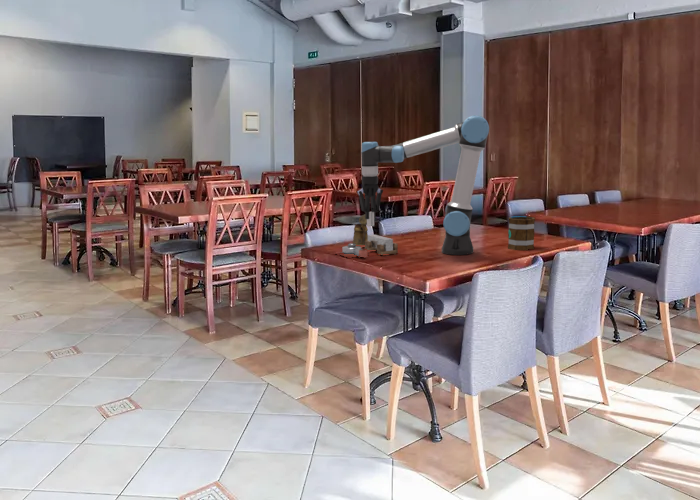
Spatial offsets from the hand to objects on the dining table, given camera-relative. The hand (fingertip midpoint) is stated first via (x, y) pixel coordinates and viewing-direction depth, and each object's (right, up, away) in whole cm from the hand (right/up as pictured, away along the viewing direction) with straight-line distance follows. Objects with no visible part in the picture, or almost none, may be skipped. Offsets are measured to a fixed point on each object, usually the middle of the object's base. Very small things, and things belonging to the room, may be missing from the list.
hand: (370, 225), depth 305 cm
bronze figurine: (-4, -10, +27) cm, 29 cm away
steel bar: (+5, -11, +11) cm, 16 cm away
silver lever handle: (-7, -14, +2) cm, 15 cm away
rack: (+5, -13, +11) cm, 17 cm away
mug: (+74, -10, +19) cm, 78 cm away
